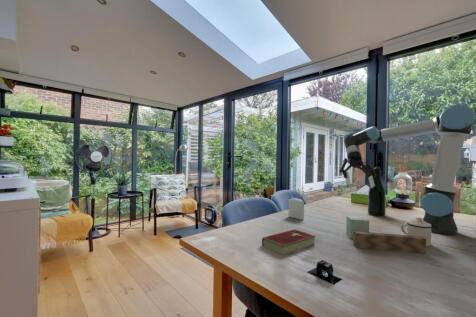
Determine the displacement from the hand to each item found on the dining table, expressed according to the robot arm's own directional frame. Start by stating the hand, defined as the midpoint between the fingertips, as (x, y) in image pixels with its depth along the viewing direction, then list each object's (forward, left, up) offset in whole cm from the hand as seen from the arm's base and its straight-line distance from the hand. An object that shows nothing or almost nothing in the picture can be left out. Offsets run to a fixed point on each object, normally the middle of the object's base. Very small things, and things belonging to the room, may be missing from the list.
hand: (360, 184), depth 125 cm
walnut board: (-3, +29, -24) cm, 38 cm away
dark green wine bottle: (-22, -37, -24) cm, 49 cm away
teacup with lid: (-19, +17, -24) cm, 35 cm away
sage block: (+5, +15, -24) cm, 29 cm away
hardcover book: (+38, +35, -24) cm, 57 cm away
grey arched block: (+33, -12, -24) cm, 43 cm away
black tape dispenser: (+28, +59, -24) cm, 70 cm away
